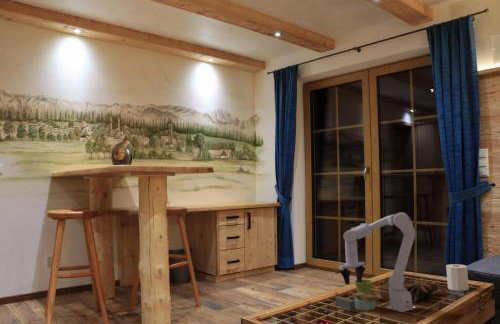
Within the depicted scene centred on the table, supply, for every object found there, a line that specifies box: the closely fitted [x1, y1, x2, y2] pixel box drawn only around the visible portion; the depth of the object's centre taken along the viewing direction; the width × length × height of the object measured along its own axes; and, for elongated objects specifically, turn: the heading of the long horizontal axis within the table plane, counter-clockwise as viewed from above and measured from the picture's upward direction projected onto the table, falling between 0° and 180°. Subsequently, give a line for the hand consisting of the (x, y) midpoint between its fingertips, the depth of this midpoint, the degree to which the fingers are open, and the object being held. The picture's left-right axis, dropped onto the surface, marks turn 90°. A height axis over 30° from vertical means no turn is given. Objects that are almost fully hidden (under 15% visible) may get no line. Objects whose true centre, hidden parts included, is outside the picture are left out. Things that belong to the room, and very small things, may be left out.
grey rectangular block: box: [335, 296, 356, 312], centre depth 193 cm, size 10×3×4 cm, turn 28°
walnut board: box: [351, 292, 378, 302], centre depth 194 cm, size 11×6×2 cm, turn 28°
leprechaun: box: [406, 282, 438, 304], centre depth 206 cm, size 11×10×25 cm
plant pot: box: [353, 278, 374, 295], centre depth 210 cm, size 9×9×9 cm
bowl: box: [354, 298, 376, 311], centre depth 194 cm, size 9×9×4 cm
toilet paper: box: [445, 263, 470, 292], centre depth 220 cm, size 10×10×12 cm
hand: (353, 283), depth 199 cm, fingers open, 7 cm apart
